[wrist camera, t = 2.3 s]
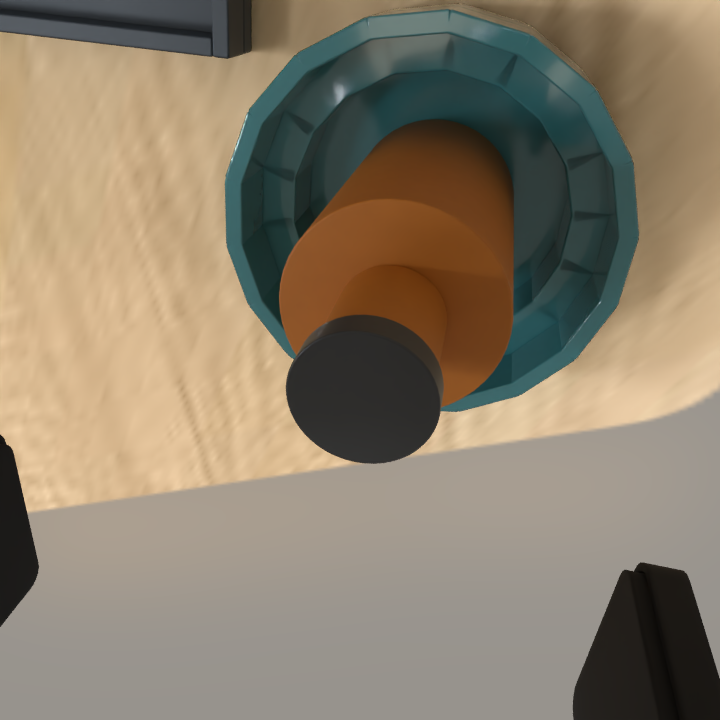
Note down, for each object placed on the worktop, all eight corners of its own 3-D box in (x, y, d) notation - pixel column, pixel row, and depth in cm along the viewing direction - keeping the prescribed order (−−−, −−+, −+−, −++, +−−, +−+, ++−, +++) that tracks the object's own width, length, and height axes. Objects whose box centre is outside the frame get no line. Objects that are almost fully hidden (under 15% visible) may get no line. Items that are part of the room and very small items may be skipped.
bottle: (529, 130, 23) (544, 290, 12) (497, 285, 26) (483, 538, 15) (363, 109, 24) (216, 239, 12) (350, 262, 27) (224, 485, 15)
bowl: (665, 23, 21) (703, 35, 17) (565, 372, 28) (575, 442, 24) (273, -18, 23) (219, -15, 19) (269, 322, 30) (228, 379, 26)
